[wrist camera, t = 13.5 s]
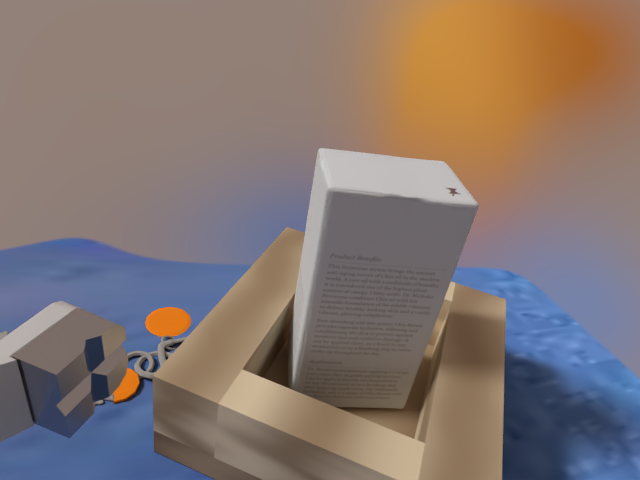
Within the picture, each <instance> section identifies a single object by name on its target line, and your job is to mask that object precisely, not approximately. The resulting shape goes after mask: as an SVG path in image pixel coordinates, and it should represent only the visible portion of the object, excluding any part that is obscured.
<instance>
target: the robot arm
mask: <svg viewBox="0 0 640 480" xmlns="http://www.w3.org/2000/svg"><path fill="white" fill-rule="evenodd" d="M125 340H126V334H125V327H123V326H121V325H118V324H116V323H114V322H111V321H109V320H106V319H104V318H102V317H99V316H97V315H95V314H92V313H90V312H88V311H85V310H83V309H80V308H78V307H75V306H73V305H70V304H68V303H66V302H63V301H59V302H55V303H52V304H50V305H49V306H48V307H46V308H45V309H43V310H42V311H41V312H39V313H38V314H36V315H35V316H34V317H32V318H31V319H29V320H28V321H26V322H25V323H24V324H22V325H21V326H19V327H18V328H17V329H15V330H14V331H12V332H11V333H10V334H8V335H7V336H5V337H4V338H3V339H1V340H0V442H1V441H3V440H5V439H8V438H10V437H12V436H14V435H16V434H18V433H20V432H22V431H24V430H26V429H28V428H30V427H33V426H34V423H35V424H37V425H39V426H42V427H44V428H46V429H49V430H51V431H53V432H56V433H58V434H61V435H63V436H65V437H68V438H70V437H71V436H72V435H73V434H74V433H75V432H76V431H77V430H78V429H79V428H80V427H81V426H82V425H83V424H84V423H85V422H86V421H87V420H88V419H89V418H90V417H91V416H92V415H93V414H94V409H95V402H97V401H100V400H102V399H105V398H108V397H110V396H111V395H112V393H113V392H114V391H115V390H116V389H117V388H118V387H119V386H120V384H121V382H122V380H123V378H124V376H125V375H126V372H127V367H128V354H127V353H126V351H125V350H124V348H123V347H122V345H121V344H122V343H123V342H124V341H125Z"/></svg>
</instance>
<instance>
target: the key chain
mask: <svg viewBox="0 0 640 480" xmlns="http://www.w3.org/2000/svg"><path fill="white" fill-rule="evenodd" d="M145 324H146V328H147V329H148V330H149V331H150V332H151V333H152V334H155V335H157V336H161V337H162V338H161V343H159V345H158V351H153V352H150V353H147V352H143V351H133V352H130V353H128V359H129V358H131V357H133V356H139V355H140V356H141V357H140V358H139V359H138V360H137V362H136V363H135V365H134V368H135V372H136V373H135V372H134V371H133V370H132V369H128V368H127V372H126V375H125V376H124V378H123V380H122V382H121V384H120V386H119V387H118V388H117V389H116V390H115V391H114V392H113V393H112V395H111V396H110V397H108V398H105V399H102V400H100V401H97V402H95V405H97V404H99V405H101V404H103V403H104V402H103V400H107V401H114V403H118V402H121V401H125V400H127V399H128V398H130V397H131V396H132V395H134V394H135V393H136V391H137V389H138V387H139V385H140V383H139V379H142V378H147V379H153V375H154V374H155V372H154V373H150V372H151V371H152V370H153V368H154V364H155V362H154V359H153V356H158V358H159V362H160V366H162V365H163V364H164V363H165V361H166V357H167V358H169V357H170V356H171V355H172V353H170V352H165V348H166V349H168V350H174V349H175V348H170V347H169V346H172V345H173V344H176V343H180V342H183V341H184V340H185V339H186V338H187V337H185V338H180V339H176V340H172V339H175V338H174V337H172V336H177V335H179V334H181V333H183V332H185V331H186V330H187V329H188V328H189V327H190V324H191V318H190V316H189V314H188V313H186V312H185V311H184V310H181V309H179V308H173V307H166V308H160V309H158V310H156V311H153V312H152V313H151V314H150V315H149V316H148V317H147V319H146V322H145ZM7 333H8V332H6V331H4V332H3V333H1V332H0V340H1V339H3V338H4V337H5V336H7V335H8V334H7ZM165 338H170V340H167V341H164V339H165ZM146 359H148V361H149V367H148V369H147V370H146V371H143V370H142V369H141V364H142V362H143V361H145V360H146ZM138 374H139V375H138Z"/></svg>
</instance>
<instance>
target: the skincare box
mask: <svg viewBox="0 0 640 480" xmlns="http://www.w3.org/2000/svg"><path fill="white" fill-rule="evenodd" d="M478 206H479V205H478V203H477V202H476V200H475V199H474V198H473V197H472V195H471V194H470V193H469V192H468V190H467V189H466V188H465V187H464V185H463V184H462V183H461V182H460V180H459V179H458V177H457V176H456V175H455V173H454V172H453V171H452V170H451V168H450V167H449V166H448V165H447V164H446V163H445V162H442V161H431V160H421V159H412V158H402V157H393V156H386V155H377V154H369V153H359V152H352V151H342V150H334V149H325V148H320V149H319V151H318V154H317V160H316V166H315V173H314V180H313V186H312V192H311V198H310V205H309V211H308V218H307V224H306V231H305V236H304V243H303V249H302V255H301V262H300V268H299V274H298V280H297V287H296V293H295V299H294V305H293V312H292V318H291V324H290V330H289V336H288V343H287V355H288V383H289V389H292V390H294V391H297V392H299V393H302V394H304V395H307V396H309V397H312V398H314V399H317V400H319V401H322V402H324V403H326V404H329V405H331V406H334V407H360V408H397V409H402V408H404V407H405V404H406V402H407V399H408V396H409V393H410V391H411V388H412V385H413V383H414V380H415V377H416V374H417V372H418V369H419V366H420V364H421V361H422V358H423V355H424V353H425V350H426V347H427V345H428V342H429V339H430V337H431V334H432V331H433V328H434V326H435V323H436V320H437V318H438V315H439V312H440V310H441V307H442V304H443V301H444V298H445V296H446V293H447V290H448V288H449V285H450V282H451V279H452V277H453V274H454V271H455V269H456V266H457V263H458V260H459V257H460V255H461V252H462V250H463V247H464V244H465V241H466V238H467V236H468V233H469V231H470V228H471V225H472V223H473V220H474V217H475V215H476V212H477V210H478Z"/></svg>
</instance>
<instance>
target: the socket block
mask: <svg viewBox="0 0 640 480" xmlns="http://www.w3.org/2000/svg"><path fill="white" fill-rule="evenodd" d="M304 236H305V233H303V232H300V231H297V230H294V229H291V228H288V227H287V228H286V229H285V230H284V231H283V232H282V233H281V234H280V235H279V236H278V237H277V239H276V240H275V241H274V242H273V243H272V244H271V245H270V246H269V247H268V249H267V250H266V251H265V252H264V253H263V254H262V255H261V256H260V257H259V259H258V260H257V261H256V262H255V263H254V264H253V265H252V266H251V267H250V268H249V270H248V271H247V272H246V273H245V274H244V275H243V276H242V277H241V278H240V280H239V281H238V282H237V283H236V284H235V285H234V286H233V287H232V288H231V289H230V291H229V292H228V293H227V294H226V295H225V296H224V297H223V298H222V299H221V301H220V302H219V303H218V304H217V305H216V306H215V307H214V308H213V309H212V311H211V312H210V313H209V314H208V315H207V316H206V317H205V318H204V319H203V320H202V322H201V323H200V324H199V325H198V326H197V327H196V328H195V329H194V330H193V332H192V333H191V334H190V335H189V336H188V337H187V338H186V339H185V340H184V341H183V343H182V344H181V345H180V346H179V347H178V348H177V349H176V350H175V351H174V353H173V354H172V355H171V356H170V357H169V358H168V359H167V360H166V361H165V363H164V364H163V365H162V366H161V367H160V368H159V369H158V370H157V371H156V372H155V374H154V375H153V416H154V451H155V452H157V453H159V454H161V455H164V456H166V457H168V458H170V459H172V460H174V461H177V462H179V463H181V464H183V465H185V466H187V467H190V468H192V469H194V470H196V471H198V472H200V473H202V474H205V475H207V476H209V477H211V478H213V479H215V480H502V457H503V413H504V369H505V325H506V299H503V298H500V297H497V296H494V295H490V294H487V293H484V292H481V291H478V290H475V289H472V288H469V287H466V286H463V285H460V284H457V283H454V282H450V285H449V288H448V290H447V293H446V296H445V298H444V301H443V304H442V307H441V310H440V312H439V315H438V318H437V320H436V323H435V326H434V328H433V331H432V334H431V337H430V339H429V342H428V345H427V347H426V350H425V353H424V355H423V358H422V361H421V364H420V366H419V369H418V372H417V374H416V377H415V380H414V383H413V385H412V388H411V391H410V393H409V396H408V399H407V402H406V404H405V407H404V408H402V409H397V408H360V407H334V406H331V405H329V404H326V403H324V402H322V401H319V400H317V399H314V398H312V397H309V396H307V395H304V394H302V393H299V392H297V391H294V390H292V389H289V383H288V355H287V343H288V336H289V330H290V324H291V318H292V312H293V305H294V299H295V293H296V287H297V280H298V274H299V268H300V262H301V255H302V249H303V243H304Z"/></svg>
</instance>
